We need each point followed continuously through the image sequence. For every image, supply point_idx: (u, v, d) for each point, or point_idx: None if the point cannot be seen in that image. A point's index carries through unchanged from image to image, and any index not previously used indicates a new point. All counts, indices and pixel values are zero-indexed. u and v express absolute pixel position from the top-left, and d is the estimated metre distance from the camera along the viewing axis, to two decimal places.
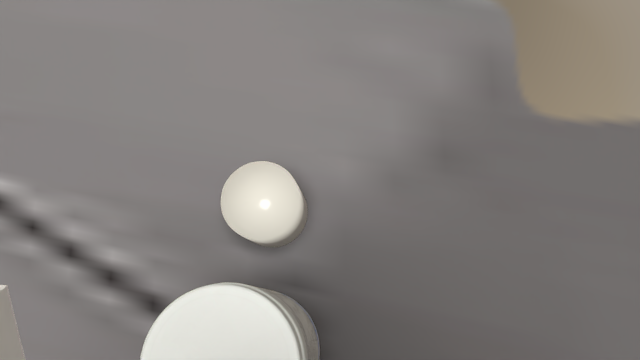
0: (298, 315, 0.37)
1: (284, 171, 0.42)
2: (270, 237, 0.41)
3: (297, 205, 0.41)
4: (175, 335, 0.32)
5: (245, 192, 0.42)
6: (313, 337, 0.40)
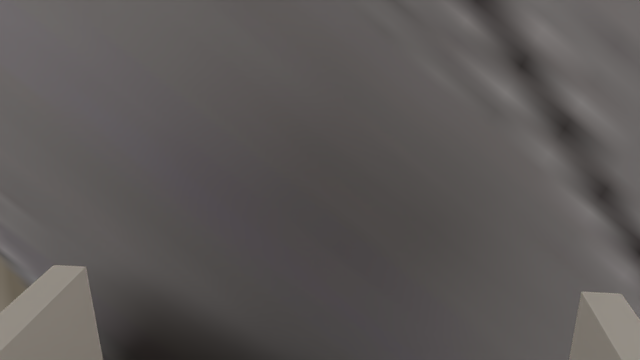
0: None
1: None
2: None
3: None
4: None
5: None
6: None
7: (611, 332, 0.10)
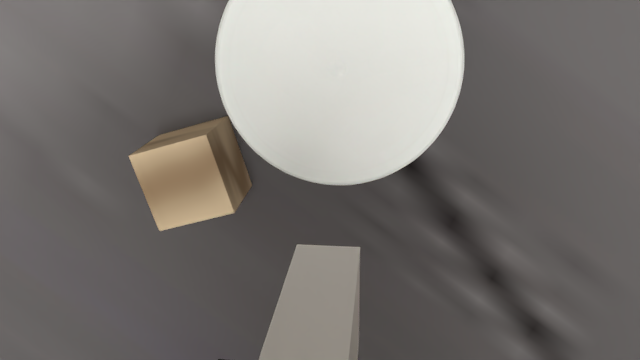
0: None
1: None
2: None
3: None
4: None
5: None
6: None
7: (326, 274, 0.12)
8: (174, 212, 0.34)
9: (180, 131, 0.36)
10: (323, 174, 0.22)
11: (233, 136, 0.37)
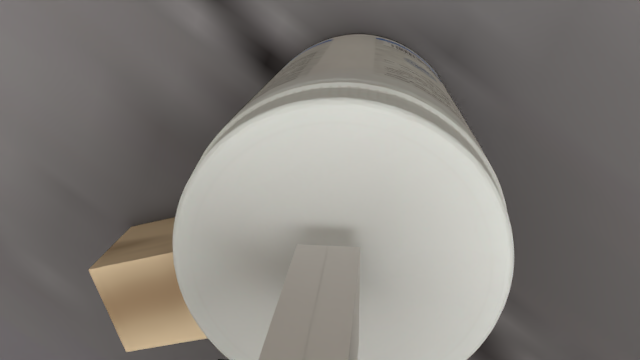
0: None
1: None
2: None
3: None
4: (272, 176, 0.14)
5: None
6: None
7: (326, 274, 0.12)
8: (142, 333, 0.29)
9: (154, 228, 0.31)
10: None
11: None
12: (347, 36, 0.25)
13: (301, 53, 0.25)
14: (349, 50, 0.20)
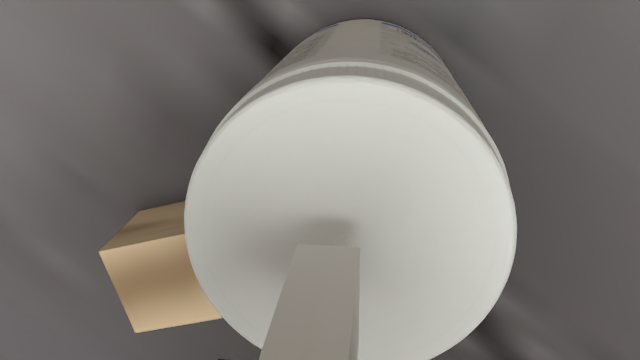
0: None
1: None
2: None
3: None
4: (281, 152, 0.14)
5: None
6: None
7: (326, 274, 0.12)
8: (152, 314, 0.29)
9: (162, 211, 0.31)
10: None
11: None
12: (353, 21, 0.26)
13: (307, 38, 0.25)
14: (355, 33, 0.21)
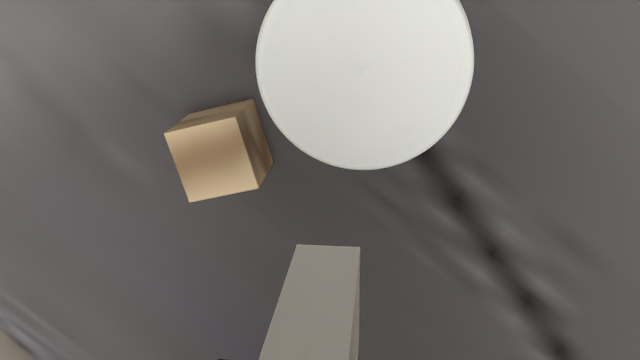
0: None
1: None
2: None
3: None
4: (322, 3, 0.22)
5: None
6: None
7: (326, 274, 0.12)
8: (203, 186, 0.37)
9: (209, 111, 0.39)
10: (346, 160, 0.25)
11: (258, 117, 0.40)
12: None
13: None
14: None
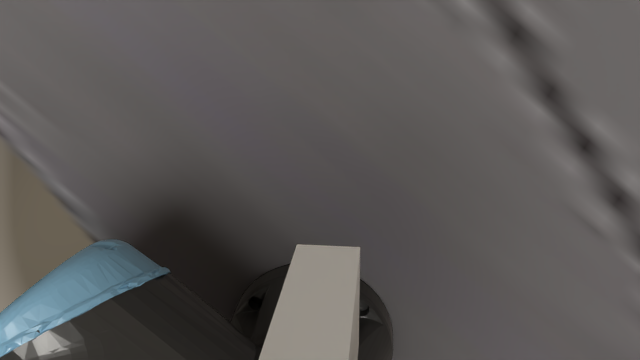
0: None
1: None
2: None
3: None
4: None
5: None
6: None
7: (326, 274, 0.12)
8: None
9: None
10: None
11: None
12: None
13: None
14: None
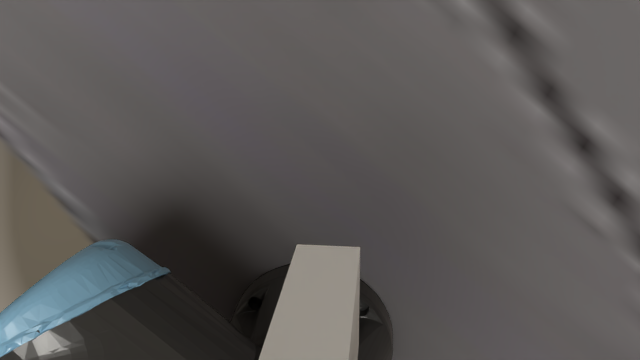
0: None
1: None
2: None
3: None
4: None
5: None
6: None
7: (325, 275, 0.12)
8: None
9: None
10: None
11: None
12: None
13: None
14: None
